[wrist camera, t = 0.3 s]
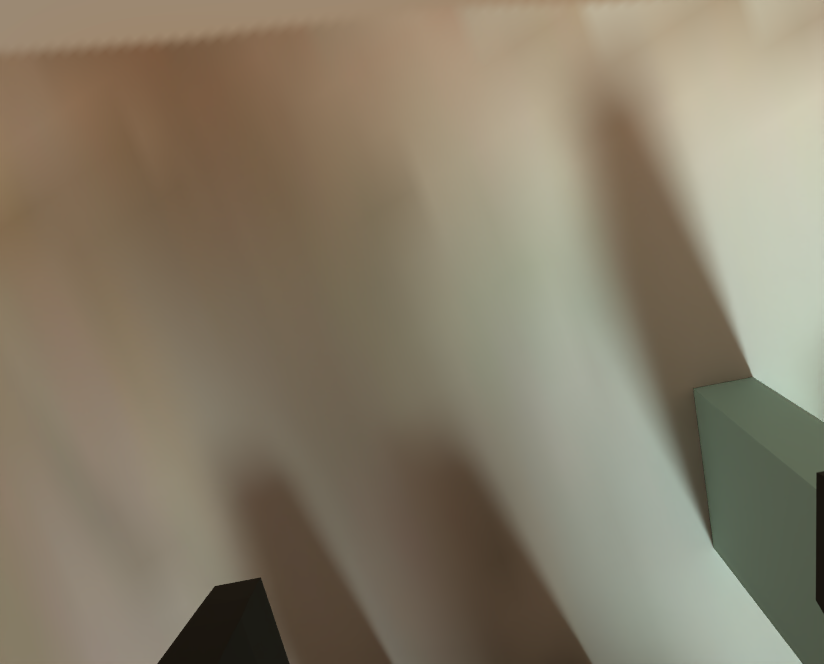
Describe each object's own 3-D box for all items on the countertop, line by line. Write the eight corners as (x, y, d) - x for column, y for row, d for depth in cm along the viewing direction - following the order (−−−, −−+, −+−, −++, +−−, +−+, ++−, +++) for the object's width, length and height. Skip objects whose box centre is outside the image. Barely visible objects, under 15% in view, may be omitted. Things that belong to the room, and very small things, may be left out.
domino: (752, 376, 20) (970, 516, 12) (770, 537, 21) (981, 761, 13) (693, 388, 20) (871, 533, 12) (713, 547, 21) (888, 775, 13)
